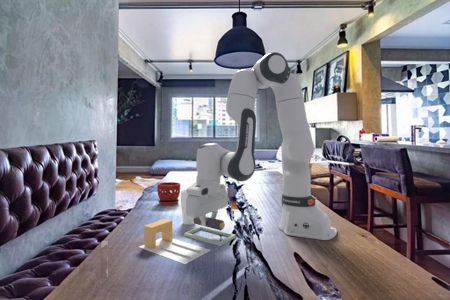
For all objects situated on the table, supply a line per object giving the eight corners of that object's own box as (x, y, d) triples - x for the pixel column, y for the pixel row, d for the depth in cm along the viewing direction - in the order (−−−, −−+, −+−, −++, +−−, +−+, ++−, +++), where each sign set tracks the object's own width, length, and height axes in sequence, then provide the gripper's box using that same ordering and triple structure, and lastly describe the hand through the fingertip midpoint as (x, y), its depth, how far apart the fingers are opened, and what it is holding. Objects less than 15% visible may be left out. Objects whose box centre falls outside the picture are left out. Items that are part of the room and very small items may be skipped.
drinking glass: (182, 228, 112) (181, 193, 112) (180, 223, 119) (180, 190, 118) (198, 226, 114) (197, 192, 113) (195, 222, 121) (195, 189, 120)
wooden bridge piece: (172, 239, 96) (172, 220, 96) (152, 248, 89) (151, 227, 88) (165, 237, 98) (164, 218, 98) (144, 245, 91) (143, 225, 91)
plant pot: (178, 206, 149) (177, 185, 149) (154, 206, 150) (154, 185, 149) (182, 200, 162) (182, 181, 162) (160, 201, 163) (160, 181, 162)
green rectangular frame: (235, 240, 98) (235, 234, 98) (220, 249, 91) (220, 242, 91) (200, 231, 108) (200, 226, 108) (184, 238, 101) (184, 232, 101)
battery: (225, 229, 97) (225, 219, 97) (219, 231, 94) (219, 221, 94) (198, 222, 105) (198, 213, 105) (192, 224, 102) (192, 215, 102)
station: (211, 253, 87) (211, 248, 87) (185, 268, 78) (185, 262, 78) (165, 239, 100) (165, 234, 100) (138, 250, 91) (138, 245, 91)
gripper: (218, 182, 109) (219, 215, 110) (182, 190, 93) (183, 229, 93) (231, 183, 105) (231, 218, 106) (196, 192, 89) (196, 233, 89)
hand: (208, 223), depth 99 cm, fingers closed on battery, 3 cm apart
